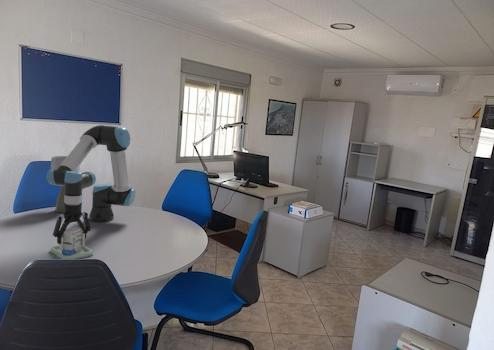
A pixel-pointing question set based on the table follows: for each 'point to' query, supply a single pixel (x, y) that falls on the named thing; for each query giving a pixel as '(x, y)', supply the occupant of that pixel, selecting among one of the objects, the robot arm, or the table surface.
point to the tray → (80, 254)
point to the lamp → (60, 203)
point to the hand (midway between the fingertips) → (71, 247)
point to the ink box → (72, 240)
